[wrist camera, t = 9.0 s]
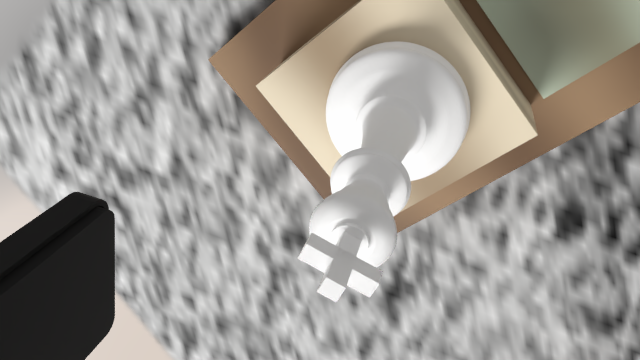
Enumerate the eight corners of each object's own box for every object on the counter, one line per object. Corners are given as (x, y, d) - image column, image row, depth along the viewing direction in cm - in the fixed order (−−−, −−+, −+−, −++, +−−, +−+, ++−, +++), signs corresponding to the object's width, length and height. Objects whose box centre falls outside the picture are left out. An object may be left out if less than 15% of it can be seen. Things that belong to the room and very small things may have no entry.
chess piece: (366, 13, 18) (266, 127, 10) (500, 86, 18) (517, 264, 10) (306, 134, 21) (183, 310, 12) (423, 198, 21) (383, 419, 12)
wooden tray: (628, -309, 16) (670, -364, 13) (794, 1, 19) (868, 29, 15) (219, 52, 25) (174, 81, 21) (370, 236, 27) (353, 289, 24)
